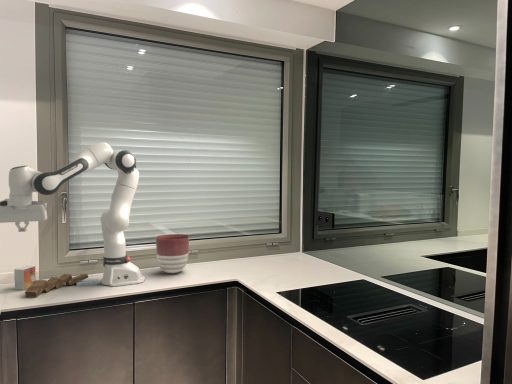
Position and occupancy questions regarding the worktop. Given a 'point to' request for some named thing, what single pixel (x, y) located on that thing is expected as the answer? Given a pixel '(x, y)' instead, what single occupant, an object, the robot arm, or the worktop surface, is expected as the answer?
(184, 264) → the planter
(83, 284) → the domino
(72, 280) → the domino
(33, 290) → the domino
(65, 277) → the domino
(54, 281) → the domino
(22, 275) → the small box
